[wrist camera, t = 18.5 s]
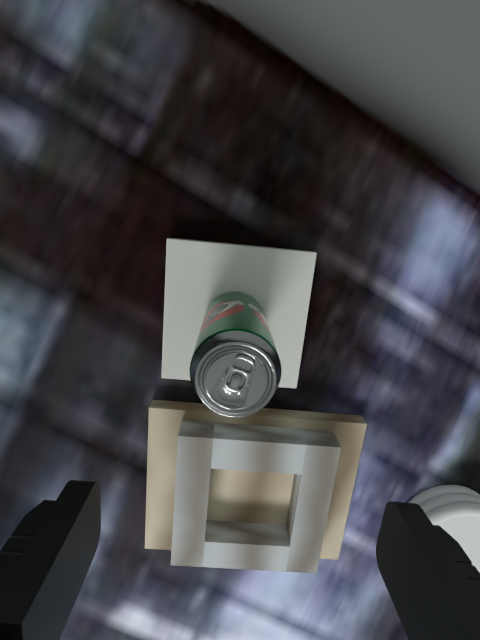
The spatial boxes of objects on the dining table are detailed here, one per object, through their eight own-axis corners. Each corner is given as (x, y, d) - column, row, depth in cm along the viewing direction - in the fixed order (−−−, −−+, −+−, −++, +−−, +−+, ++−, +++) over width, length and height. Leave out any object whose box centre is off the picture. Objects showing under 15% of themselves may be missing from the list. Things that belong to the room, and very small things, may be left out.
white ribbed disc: (480, 555, 40) (503, 586, 37) (391, 560, 40) (405, 591, 36) (493, 479, 37) (519, 505, 34) (397, 484, 37) (414, 510, 34)
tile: (164, 371, 33) (161, 377, 32) (169, 237, 30) (166, 238, 28) (293, 381, 34) (296, 388, 32) (312, 251, 30) (316, 252, 29)
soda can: (196, 335, 31) (173, 405, 19) (217, 280, 29) (207, 320, 18) (250, 356, 31) (261, 436, 20) (274, 303, 30) (300, 356, 18)
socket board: (148, 535, 38) (138, 571, 34) (152, 399, 34) (142, 422, 30) (334, 546, 39) (345, 582, 35) (361, 415, 35) (377, 439, 31)
